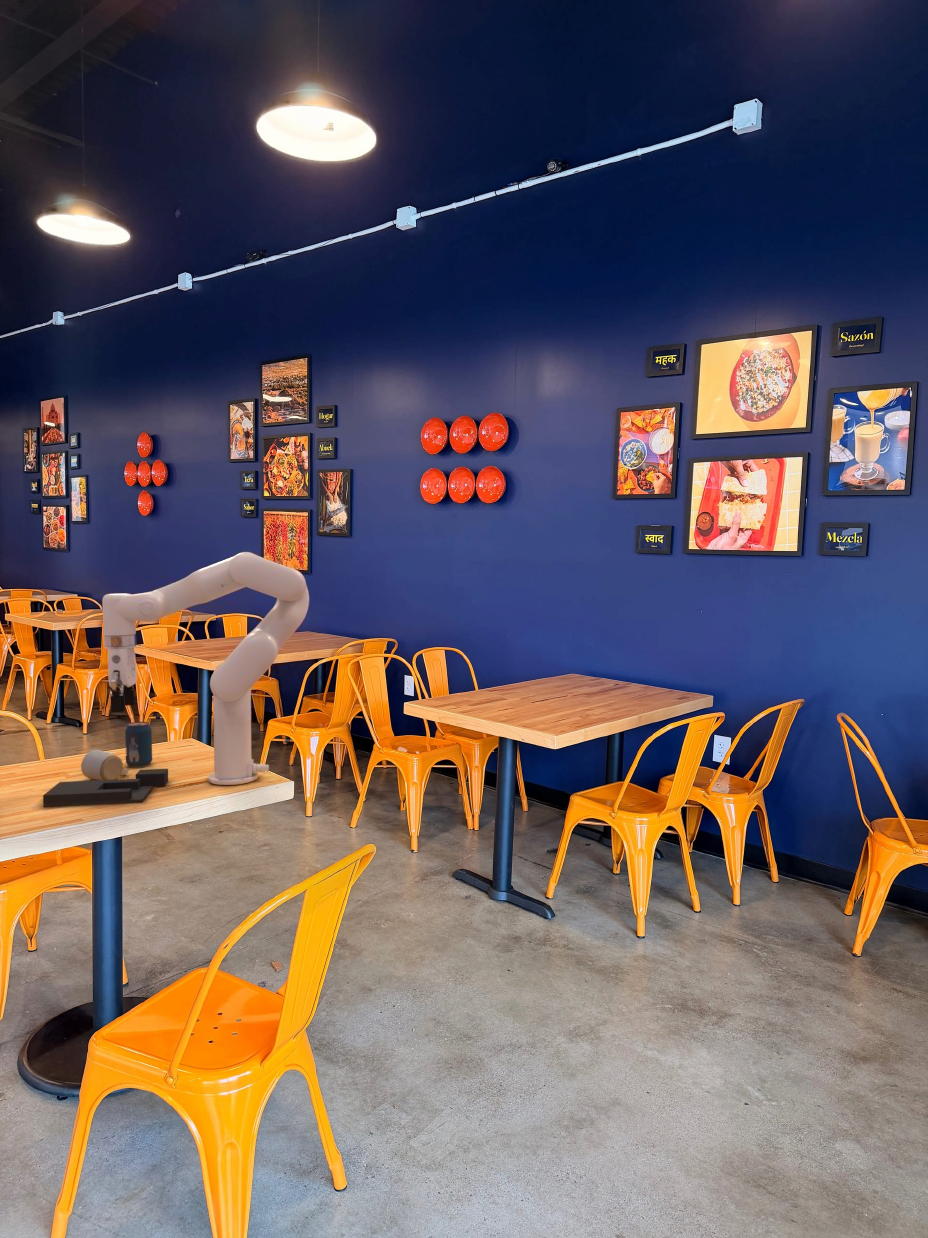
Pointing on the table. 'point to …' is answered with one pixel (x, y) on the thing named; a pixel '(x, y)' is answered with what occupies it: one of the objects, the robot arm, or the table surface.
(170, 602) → the robot arm
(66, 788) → the pad base
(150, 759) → the soda can
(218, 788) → the table surface
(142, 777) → the loose pad
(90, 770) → the ceramic mug
